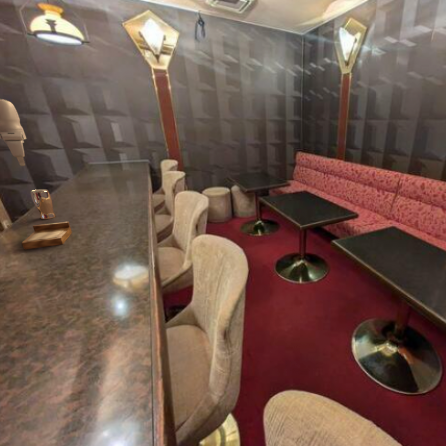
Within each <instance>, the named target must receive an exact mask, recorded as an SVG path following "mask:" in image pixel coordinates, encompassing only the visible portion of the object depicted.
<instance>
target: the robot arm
mask: <svg viewBox="0 0 446 446" xmlns="http://www.w3.org/2000/svg"><path fill="white" fill-rule="evenodd" d="M0 140H2V141H4V144H6V145H7V147H8V149H9V151H10V153H11V155H12V156H13V157H14V158H16V159H17V162H18V165H19V166H20V167H24V166H26V163H25V162H26V161H25V159H24V157H25V150H24V143H25V141H24V140H27V136H26V133H25V131H24V128H23V126H22V124H21V118H20V116H19V113H18V111H17V109H16V107H15V105H14V104H13V103H12V102H11V101H9V100H7V99H3V98H0Z"/></svg>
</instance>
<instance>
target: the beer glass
mask: <svg viewBox="0 0 446 446" xmlns="http://www.w3.org/2000/svg"><path fill="white" fill-rule="evenodd" d="M29 193H30V196H31V201H32V202H33V204H34V206H35V207H36V209H37V210H38V213H39V217H40V220H51V219H55V218H56V217H57V215H56V214H55V211H54V209H53V208H54V207H53V200H52V196H51V194H50V191H49V190H48V189H46V188H45V189H44V188H40V189H35V190H34V189H32V190H30V192H29Z"/></svg>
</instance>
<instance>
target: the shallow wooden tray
mask: <svg viewBox="0 0 446 446" xmlns="http://www.w3.org/2000/svg"><path fill="white" fill-rule="evenodd" d="M32 229H33V232H32V233H31V234H30V235H29V236H28V237H26V238H25V239H24V240H23V241H22V242H21V245H22V247H23V250H31V249H37V248H45V247H54V246H60V245H64V244H65V243H66V242H67V240H68V238H69V237H70V236H71V234H72V233H73V232H72V229H71V224H70V222H69V221H62V222H54V223H42V224H35V225H32Z"/></svg>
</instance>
